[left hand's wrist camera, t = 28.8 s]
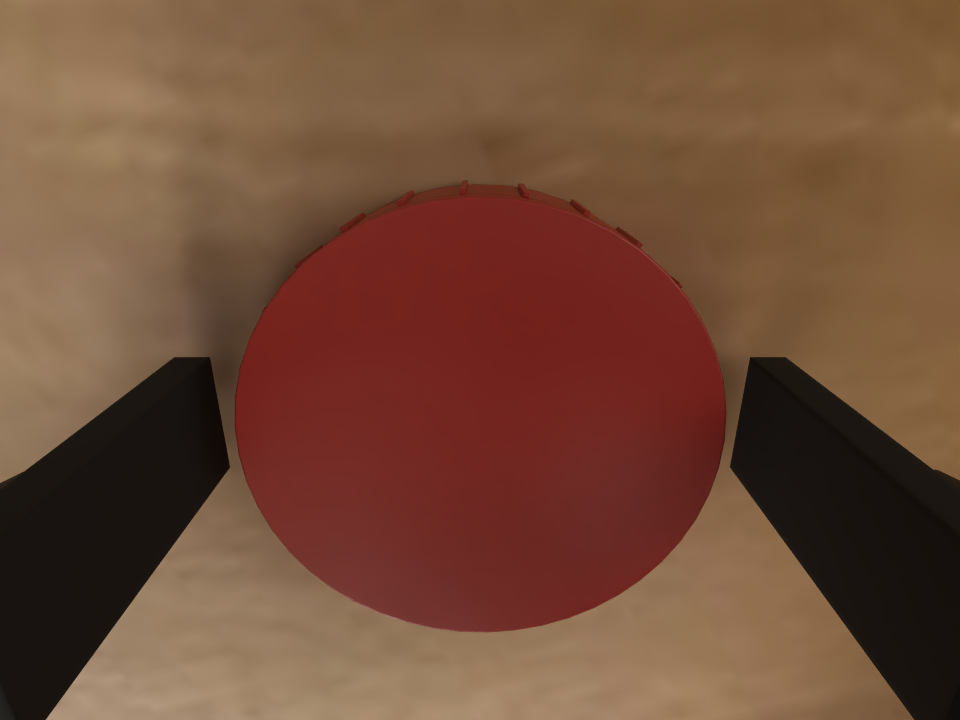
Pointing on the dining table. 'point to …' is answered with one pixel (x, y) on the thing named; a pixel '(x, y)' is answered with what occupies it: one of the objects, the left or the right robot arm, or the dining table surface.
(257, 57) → the dining table surface
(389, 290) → the lid
